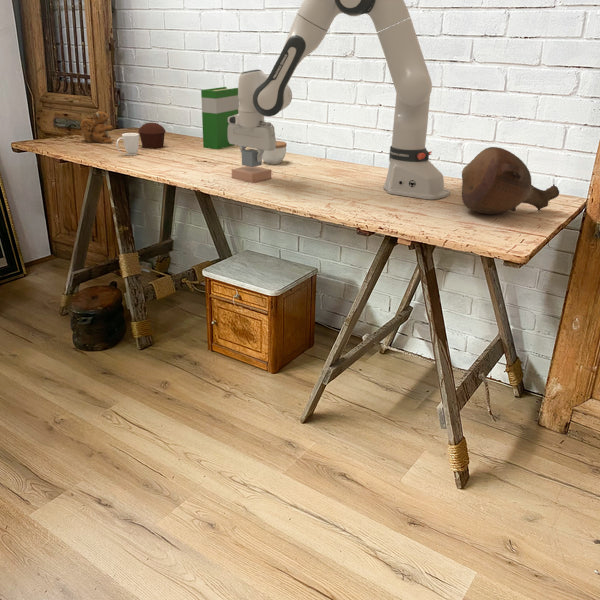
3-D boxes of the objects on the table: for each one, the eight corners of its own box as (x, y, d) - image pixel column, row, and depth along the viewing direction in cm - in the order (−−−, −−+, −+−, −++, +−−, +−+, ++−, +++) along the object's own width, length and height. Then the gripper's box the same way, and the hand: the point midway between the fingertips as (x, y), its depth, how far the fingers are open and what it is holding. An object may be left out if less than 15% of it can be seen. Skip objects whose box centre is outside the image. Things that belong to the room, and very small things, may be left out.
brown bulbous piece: (456, 220, 180) (551, 237, 184) (481, 157, 169) (582, 177, 173) (442, 189, 197) (530, 205, 201) (464, 130, 186) (557, 149, 190)
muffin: (134, 148, 266) (132, 124, 262) (146, 143, 276) (144, 120, 272) (160, 150, 264) (158, 126, 260) (170, 145, 274) (169, 122, 270)
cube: (261, 165, 220) (261, 150, 218) (252, 167, 217) (252, 152, 215) (251, 162, 223) (251, 148, 221) (241, 165, 220) (241, 150, 218)
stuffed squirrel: (114, 143, 275) (111, 112, 270) (80, 144, 272) (76, 113, 267) (114, 139, 284) (111, 109, 278) (82, 140, 281) (78, 109, 275)
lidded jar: (261, 165, 241) (261, 141, 237) (257, 160, 250) (257, 136, 246) (288, 165, 243) (289, 140, 239) (283, 159, 252) (283, 136, 249)
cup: (144, 154, 254) (142, 134, 251) (122, 157, 248) (120, 137, 245) (135, 152, 259) (133, 132, 256) (113, 154, 253) (111, 134, 249)
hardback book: (226, 141, 286) (224, 86, 276) (239, 143, 283) (238, 87, 273) (203, 147, 272) (201, 89, 262) (217, 149, 268) (215, 91, 259)
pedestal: (271, 177, 223) (271, 169, 221) (252, 182, 216) (252, 174, 214) (251, 173, 228) (251, 165, 227) (231, 177, 221) (231, 169, 220)
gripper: (280, 122, 210) (279, 163, 216) (236, 115, 222) (237, 154, 227) (267, 124, 205) (267, 165, 211) (224, 117, 217) (225, 157, 223)
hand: (251, 160), depth 219 cm, fingers closed on cube, 5 cm apart
